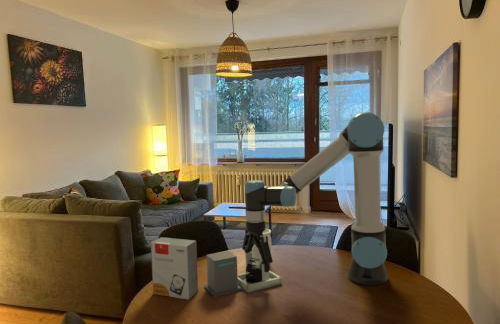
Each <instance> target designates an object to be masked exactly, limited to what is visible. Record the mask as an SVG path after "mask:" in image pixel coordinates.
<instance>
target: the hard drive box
mask: <svg viewBox="0 0 500 324" xmlns="http://www.w3.org/2000/svg"><path fill="white" fill-rule="evenodd" d="M150 251H151V252H150V254H151V275H152V278H151V279H152V294H153V295H158V296H161V297H163V296H166V297H171V298H177V299H182V300H187V301H188V300H190V299H191V298H192V297H194V296H195V294H197V293H198V292H199V285H198V283H199V280H198V279H199V278H198V253H197V251H198V250H197V240H195V239H194V240H193V239H183V238H172V237H159V238H157V239H155V240H153V241H151V242H150Z"/></svg>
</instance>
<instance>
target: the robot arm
mask: <svg viewBox="0 0 500 324" xmlns="http://www.w3.org/2000/svg"><path fill="white" fill-rule="evenodd" d="M384 133H385V125H384V121H382V119H381V118H380V117H379V116H378V115H377V114H375V113H374V112H373V113H372V112H366V111H364V112H359V113H357V114H355V115H354V116H353V117H352V118H351V119H350V121H348V124H347V126H346V127H345V128H344V129H342V130H341V131H340V132H339V136H338V137H337V138H335V139H334V140H333V141H332V142H331V143H329V144H328V145H327V146H326V147H324V148H323V149H322V150H320V151H319V152H318V153H317V154H315V155H314V156H313V157H312V158H311V159H310V160H308V161H307V162H305V164H303V165H302V166H301V167H299V168H298V169H297V170H296V171H294V172H293V173H292V174H290V176H288V177H287V178H286V179H284V180H283V181H281V183H279V184H278V185H276V186H275V185H266V184H265V182H264V181H263V180H259V179H258V180H257V179H255V180H254V179H252V180H248V181H246V182H245V185H244V198H245V199H244V203H245V220H246V222H245V230H244V238H243V242H242V248H241V249H242V250H243V252H244V253H245V257H244V258H245V268H246V267H247V265H248V264H252V262H250V259H251V258H252V252H251V251H252V248H253V246H254V244H255V245H256V247H257V248H258V250H259V253H260V255H261V258H262V261H263V262H262V280H263V281H264V280H268V279H269V270H270V264H272V263H273V261H274V260H273V258H272V257H273V256H272V253H271V252H272V251H271V252H270V248H269V244H268V237H267V236H263V231H265V229H267V228H266V210H265V209H266V207H267V206H268V207H285V208H286V207H294V206H295V205H296V203H297V195H298V194H300V192H301V191H303V190H304V189H305V188H307V186H309V185H310V184H312V183H313V182H314V181H316V180H317V179H318V178H320V177H321V176H322V175H323V174H325V173H326V172H327V171H328V170H330V169H331V168H332V167H334V166H335V165H337V164H338V163H339V162H340V161H342V160H343V159H344V158H345V157H347V156H348V155H349V154H350V155H352V157H353V158H352V159H353V182H354V185H353V186H354V187H353V188H354V189H353V190H354V213H355V214H354V216H355V218H354V219H355V220H354V221H352V223H351V230H350V231H351V249H350V250H351V251H350V252H351V256H352V257H351V260H350V263H349V268H348V269H347V278H348V279H349V280H350V281H351V282H353V283H356V284H360V285H364V286H380V285H383V284H386V283H387V282H388V281H389V275H388V271H387V269H386V266H385V261H386V259H387V256H388V249H387V245H386V238H387V236H386V227H385V226H384V224H383V222H382V220H381V219H382V218H381V192H380V191H381V189H380V188H381V185H380V181H381V180H380V155H381V154H382V153H383V152H384V136H385V135H384Z"/></svg>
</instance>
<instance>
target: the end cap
mask: <svg viewBox="0 0 500 324" xmlns="http://www.w3.org/2000/svg"><path fill="white" fill-rule="evenodd" d="M250 262H255V263H256V264H248V265H247V267H246V266H245V273H247V272H250V273H249V274H248V275H247V274H246V282H248V283H257V282H261V281H262V262H263V261H262V258H261V259H256V258H251V259H250Z"/></svg>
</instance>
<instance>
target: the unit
mask: <svg viewBox="0 0 500 324" xmlns="http://www.w3.org/2000/svg"><path fill="white" fill-rule="evenodd" d="M206 277H207V278H206V280H207V284H204V285H203V286H204V289H205V290H206V291H207V292H208V293H210V294H211V296H212V297H214V298H217V297H221V296H225V295H230V294H232V293H233V294H234V293H237V292H242V290H243V289H242V288H241V287H240V286H239V285H238V257H237V256H236V255H235V254H234V253H232V252H231V251H230V250H225V251H219V252H215V253H213V252H212V253H209V254H206Z"/></svg>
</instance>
